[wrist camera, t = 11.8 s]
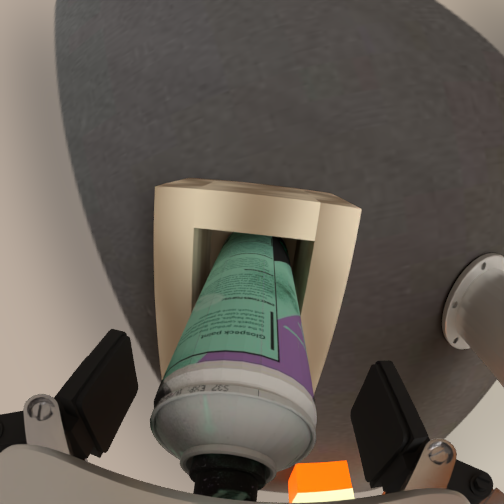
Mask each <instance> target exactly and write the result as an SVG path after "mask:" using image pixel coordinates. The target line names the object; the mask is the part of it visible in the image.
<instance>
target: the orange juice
mask: <svg viewBox="0 0 504 504" xmlns="http://www.w3.org/2000/svg"><path fill="white" fill-rule="evenodd" d="M288 487H289V503H310V502H327V501H339V500H348V499H355V498H354V493H353V488H352V485H351V480H350V475H349V470H348V465H347V460H346V461H336V462H323V463H299V464H295V467H294V469H293V471H292V474H291V476H290V478H289V481H288Z"/></svg>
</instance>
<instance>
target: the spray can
mask: <svg viewBox="0 0 504 504" xmlns="http://www.w3.org/2000/svg"><path fill="white" fill-rule="evenodd" d="M316 423H317V414H316V407H315V400H314V393H313V387H312V381H311V375H310V368H309V362H308V356H307V351H306V345H305V339H304V333H303V328H302V322H301V317H300V311H299V306H298V301H297V295H296V290H295V285H294V280H293V275H292V270H291V265H290V260H289V255H288V250H287V247H286V244H285V242H284V240H283V238H282V237H276V236H267V235H258V234H249V233H240V232H232V233H231V234H230V235H229V236H228V238H227V239H226V240H225V242H224V244H223V246H222V249H221V251H220V253H219V255H218V257H217V259H216V261H215V263H214V266H213V268H212V270H211V272H210V274H209V276H208V278H207V281H206V283H205V285H204V287H203V289H202V291H201V294H200V296H199V298H198V300H197V302H196V304H195V307H194V309H193V311H192V313H191V315H190V318H189V320H188V322H187V324H186V327H185V329H184V331H183V333H182V336H181V338H180V340H179V342H178V345H177V347H176V349H175V351H174V354H173V356H172V358H171V361H170V363H169V365H168V368H167V370H166V372H165V374H164V377H163V379H162V382H161V384H160V386H159V389H158V391H157V394H156V397H155V399H154V410H153V412H152V415H151V418H150V427H151V430H152V433H153V435H154V437H155V438H156V440H157V441H158V442H159V444H160V445H161V446H162V447H163V448H164V449H166V450H167V451H168V452H169V453H170V454H172V455H173V456H175V457H176V458H178V459H179V460H180V465H181V468H182V469H183V470H184V471H185V472H186V473H187V474H188V475H189V476H190V478H191V480H192V481H193V482H195V486H194V493H193V494H197V495H203V496H209V497H216V498H223V499H231V500H241V501H252V502H256V500H257V491H258V490H260V489H261V488H263V487H264V486H265V484H266V483H269V482H270V481H272V480H273V479H274V478H275V476H276V473H277V472H278V471H281V470H284V469H287V468H290V467H292V466H293V465H295V464H297V463H299V462H300V461H302V460H303V459H304V458H305V457H307V456H308V455H309V453H310V452H311V451H312V450H313V448H314V445H315V442H316V431H315V426H316Z"/></svg>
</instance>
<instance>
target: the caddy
mask: <svg viewBox="0 0 504 504" xmlns="http://www.w3.org/2000/svg"><path fill="white" fill-rule="evenodd" d="M361 210H362V209H361V208H359V207H357V206H355V205H353V204H351V203H349V202H347V201H345V200H343V199H341V198H339V197H337V196H335V195H333V194H331V193H325V192H319V191H312V190H304V189H297V188H289V187H281V186H273V185H265V184H255V183H246V182H236V181H225V180H213V179H200V178H186V179H182V180H178V181H174V182H170V183H166V184H162V185H158V186H155V202H154V286H155V308H156V324H157V337H158V348H159V358H160V368H161V376H162V379H163V377H164V374H165V372H166V370H167V368H168V365H169V363H170V361H171V358H172V356H173V354H174V351H175V349H176V347H177V345H178V342H179V340H180V338H181V336H182V333H183V331H184V329H185V327H186V324H187V322H188V320H189V318H190V315H191V313H192V311H193V309H194V307H195V304H196V302H197V300H198V298H199V296H200V294H201V291H202V289H203V287H204V285H205V283H206V281H207V278H208V276H209V274H210V272H211V270H212V268H213V266H214V263H215V261H216V259H217V257H218V255H219V253H220V251H221V249H222V246H223V244H224V242H225V240H226V239H227V238H228V236H229V235H230V234H231V233H232V232H240V233H249V234H258V235H267V236H276V237H282V238H283V240H284V242H285V244H286V247H287V250H288V255H289V260H290V265H291V270H292V275H293V280H294V285H295V290H296V295H297V301H298V306H299V311H300V317H301V322H302V328H303V333H304V339H305V345H306V351H307V356H308V362H309V368H310V375H311V381H312V387H313V393H315V390H316V387H317V384H318V381H319V378H320V375H321V372H322V369H323V366H324V363H325V359H326V356H327V353H328V350H329V346H330V343H331V340H332V336H333V333H334V329H335V326H336V322H337V319H338V315H339V311H340V307H341V303H342V300H343V296H344V292H345V287H346V283H347V279H348V275H349V270H350V266H351V261H352V257H353V252H354V247H355V242H356V237H357V232H358V227H359V221H360V215H361Z"/></svg>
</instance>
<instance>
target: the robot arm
mask: <svg viewBox="0 0 504 504" xmlns="http://www.w3.org/2000/svg"><path fill="white" fill-rule="evenodd" d="M442 330H443V334H444V336H445V338H446V340H447V341H448V342H449V343H450V344H451V345H452V346H453V347H455V348H457V349H468V348H471V349H472V350H473V351H474V352H475V353H476V354H477V356H478V357H479V358H480V359H481V360H482V361H483V363H484V364H485V365H486V366H487V367H488V369H489V370H490V371H491V372H492V374H493V375H494V376H495V377H496V378H497V380H498V381H499V382H500V383H501V385H502V386H503V387H504V257H503V256H502V255H500V254H496V253H488V254H485V255H482V256H480V257H479V258H477V259H476V260H474V261H473V262H472V263H471V264H470V265H469V266H467V267H466V269H465V270H464V271H463V272H462V273H461V275H460V276H459V277H458V279H457V281H456V282H455V284H454V285H453V287H452V289H451V291H450V293H449V295H448V298H447V301H446V303H445V307H444V311H443V316H442ZM137 390H138V382H137V377H136V372H135V366H134V361H133V354H132V348H131V342H130V338H129V337H128V336H127V335H126V333H125V332H123V331H119V330H114V329H111V330H110V331H109V332H108V333H107V334H106V336H104V338H103V339H102V340H101V342H99V344H98V345H97V346H96V347H95V349H94V350H93V351H92V352H91V353H90V355H89V356H87V357H86V358H85V360H84V361H83V362H82V363H81V365H80V366H79V367H78V368H77V369H76V371H75V372H74V373H73V374H72V376H71V377H70V378H69V380H68V381H67V382H66V383H65V384H64V386H63V387H62V388H61V390H60V391H59V392H58V394H57V395H56V396H55V397H54V398H53V397H51V396H49V395H46V394H38V395H35V396H32V397H31V398H29V399H28V401H26V403H25V405H24V410H23V411H20V412H14V413H8V414H2V415H0V504H504V493H503V492H501V491H500V490H499V489H498V488H495V489H494V490H493V481H492V479H491V477H490V476H489V474H488V473H486V472H484V471H482V470H479V469H477V468H474V467H472V466H470V465H468V464H465V463H463V462H461V461H459V460H457V459H456V456H457V453H456V449H455V448H454V446H453V445H452V444H451V443H450V442H449V441H447V440H445V439H441V438H438V439H433V440H430V439H429V437H428V434H427V432H426V430H425V427H424V425H423V423H422V421H421V419H420V417H419V415H418V412H417V410H416V408H415V406H414V404H413V402H412V400H411V398H410V396H409V394H408V392H407V390H406V388H405V386H404V384H403V382H402V380H401V378H400V376H399V374H398V372H397V370H396V368H395V366H394V364H393V363H392V361H377V362H376V363H375V364H373V365H372V366H371V368H370V370H369V372H368V375H367V377H366V379H365V381H364V384H363V386H362V388H361V390H360V392H359V395H358V397H357V399H356V401H355V403H354V405H353V407H352V409H351V420H352V424H353V428H354V432H355V436H356V440H357V445H358V449H359V453H360V457H361V462H362V466H363V471H364V475H365V479H366V481H367V482H370V486H371V488H375V487H381V486H382V487H383V491H384V492H383V494H382V495H378V496H371V497H364V498H357V499H348V500H339V501H327V502H310V503H270V502H269V503H268V502H252V501H241V500H231V499H223V498H216V497H209V496H203V495H197V494H192V493H187V492H182V491H178V490H173V489H169V488H165V487H161V486H157V485H153V484H150V483H146V482H143V481H139V480H136V479H133V478H130V477H127V476H124V475H121V474H118V473H115V472H112V471H109V470H106V469H104V468H101V467H99V466H96V465H94V464H91V463H89V462H88V461H87V458H88V456H89V455H90V454H92V455H94V456H97V457H99V458H100V457H101V455H102V453H103V452H104V453H106V452H107V451H108V449H109V447H110V445H111V443H112V441H113V439H114V437H115V435H116V433H117V431H118V429H119V427H120V425H121V423H122V421H123V419H124V417H125V415H126V413H127V411H128V409H129V407H130V405H131V403H132V401H133V399H134V398H135V396H136V393H137Z"/></svg>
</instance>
